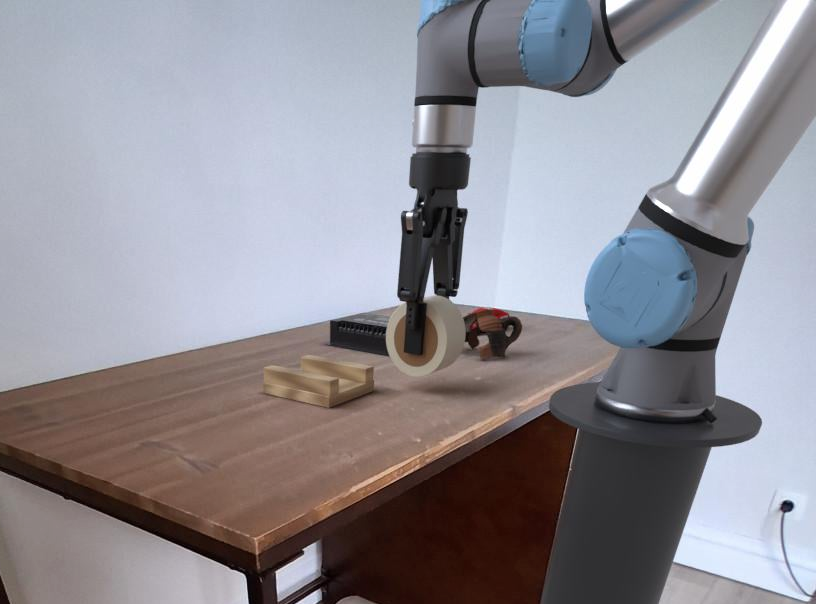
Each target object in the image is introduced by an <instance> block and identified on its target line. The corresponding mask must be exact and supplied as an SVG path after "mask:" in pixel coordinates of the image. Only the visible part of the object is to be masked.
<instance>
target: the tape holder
mask: <svg viewBox="0 0 816 604" xmlns="http://www.w3.org/2000/svg"><path fill="white" fill-rule="evenodd" d="M374 369H375V368H374V365H368V364H363V363H358V362H352V361H346V360H340V359H336V358H330V357H325V356H324V357H323V356H318V355H313V354H307V355H302V356H301V357H300V369H294V368H289V367H284V366H279V365H274V364H272V365H268V366H265V367H263V382H262V387H263V388H262V391H263V392H262V393H263V394H265V395H270V396H275V397H278V398H283V399H288V400H292V401H296V402H301V403H306V404H310V405H315V406H318V407H323V408H327V409H330V408H332V407H336V406H337V405H338V406H339V405H340V404H343V403H346V402H349V401H351V400H353V399H356V398H358V397H362V396H364V395H366V394H369V393H372V392H374V391H375V380H374V373H375V372H374V371H375V370H374Z"/></svg>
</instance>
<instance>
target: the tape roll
mask: <svg viewBox="0 0 816 604" xmlns="http://www.w3.org/2000/svg"><path fill="white" fill-rule="evenodd" d="M423 303H427V308H426V320H425V332H424V344H423V354H422V355H416V354H410V353H404V339H405V322H406V307H407V304H406V302H404V303H403V302H402V304H399V306H398V307H397V308H395V310H394V311H393V312H392V314H391V316H389V317H390V320H389V322H388V325H387V330H386V345H387V350H388V353H389V356H388V357H389V358H390V360H391V361H392V363H393V364H394V366H395V367H396V368H397V370H399V371H400V372H401V373H402V374H405V375H407V376H409V377H412V378H422V377H426V376H429V375H431V374H434V373H437V372H439V371H441V370H444V369H447V368H448V367H451V366H452V365H453V364H454V363H455V362H456V361H458V358H459V357H460V356H461V354H462V352H463V349H464V346H465V343H466V342H465V336H466V330H465V323H464V319H463V317H464V316H463V314H462V313H461V310H460V309H459V307H458V306H457V305H456V304H455V303H454V302H453V301H452V300H450V298H449V299H447V298H445V297H442V296H437V295H435V294H434V295H429V296H424V300H423Z"/></svg>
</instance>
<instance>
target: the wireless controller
mask: <svg viewBox="0 0 816 604" xmlns="http://www.w3.org/2000/svg"><path fill="white" fill-rule="evenodd" d="M390 317H391V316H387V315H381V314H373V313H367V312H361V313H357V314H351V315H348V316H343V317H340V318H335V319H330V320H329V342H327V343H325V345H326V346H332V347H336V348H342V349H348V350H352V351H360V352H365V353H370V354H376V355H380V356H381V355H382V356H386V357H390V356H389V353H388V350H387V345H386V330H387V325H388V322H389V320H390Z"/></svg>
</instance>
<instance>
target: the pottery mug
mask: <svg viewBox="0 0 816 604" xmlns="http://www.w3.org/2000/svg"><path fill="white" fill-rule="evenodd" d="M462 317H463V319H464V323H465V330H466V336H465V343H467V344H468V346H469V348H470V349H472V350H473V349H475V348H477V347H478V349H477V350H478V353H479V358H480V361H486V360H489V359H492V358H496V357H498V358H501V357H502V358H505V357H506V351H507V349H508V348H509V346H511V344H513V343H514V342H517V340H518V339H519V337H520V336H521V334H522V331H523V324H522V323H521V322H522V321H521V320H520V318H519V317H517V316H513V315H509V317H506V318H503V319H498V318H497V317H495V316H494V312H493V310H492V309H487V310H482V311H478V312H475V313H472V312H470V314H469V315H468V314H467V315H464V316H462ZM474 323H476V327H475V328H473V329H471V327H472V326H473V324H474ZM510 326H512V332H511V334H510V335H507V334H506V332H507V329H508V328H509V327H510ZM479 331H483V332H482V333H486V336H487V339H488V343H486V344H483V345H481V346H479V345H480V340H479V338H478V336H479V335H477V333H478V332H479Z"/></svg>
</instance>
